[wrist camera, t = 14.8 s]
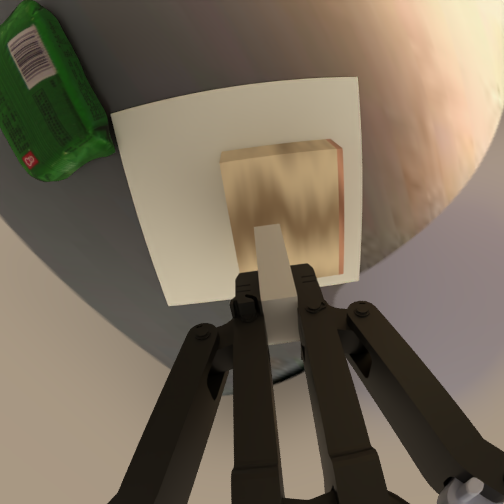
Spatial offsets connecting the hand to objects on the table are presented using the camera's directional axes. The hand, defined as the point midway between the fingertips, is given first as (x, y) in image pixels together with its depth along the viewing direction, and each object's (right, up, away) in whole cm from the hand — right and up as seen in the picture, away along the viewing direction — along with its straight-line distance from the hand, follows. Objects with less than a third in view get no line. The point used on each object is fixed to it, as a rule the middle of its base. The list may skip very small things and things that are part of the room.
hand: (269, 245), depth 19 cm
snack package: (-16, +13, 0) cm, 21 cm away
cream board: (-1, +3, +6) cm, 7 cm away
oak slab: (-2, +2, +5) cm, 6 cm away
